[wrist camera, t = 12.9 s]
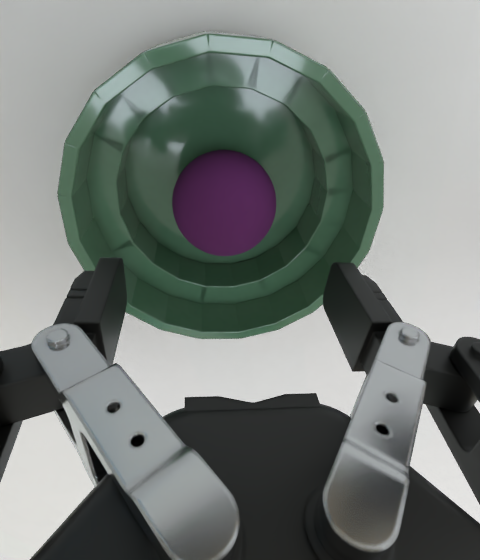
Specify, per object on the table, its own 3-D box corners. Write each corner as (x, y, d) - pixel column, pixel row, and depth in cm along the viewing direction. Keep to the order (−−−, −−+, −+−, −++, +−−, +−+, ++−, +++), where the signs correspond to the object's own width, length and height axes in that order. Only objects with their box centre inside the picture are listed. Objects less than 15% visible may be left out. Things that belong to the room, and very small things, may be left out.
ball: (175, 226, 23) (170, 275, 18) (173, 134, 20) (167, 167, 15) (261, 228, 24) (277, 276, 19) (273, 140, 20) (295, 173, 16)
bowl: (109, 280, 26) (88, 340, 21) (69, 17, 17) (16, 14, 12) (315, 283, 27) (340, 338, 23) (374, 47, 19) (435, 54, 14)
